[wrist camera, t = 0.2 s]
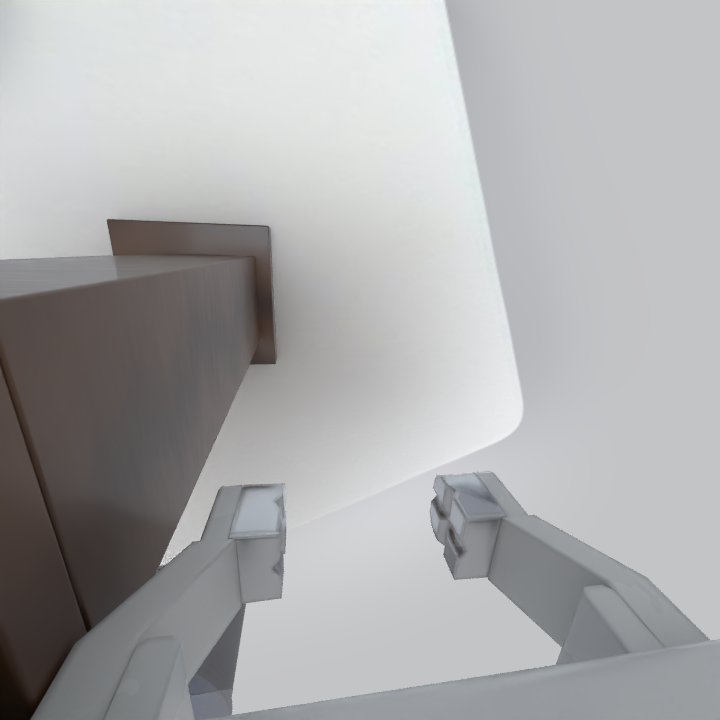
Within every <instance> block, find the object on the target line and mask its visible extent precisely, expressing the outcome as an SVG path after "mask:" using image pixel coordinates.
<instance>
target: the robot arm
mask: <svg viewBox="0 0 720 720" xmlns="http://www.w3.org/2000/svg"><path fill="white" fill-rule="evenodd" d="M433 488H434V490H435V492H436V494H437V496H436V497H435V498H434V499H433V500H432V501H431V508H430V517H431V525H432V528H433V532H434V534H435V537H436V539H437V540H438V541H439V542H440V543H442V544H443V545H444V546H445V548H444V554H443V555H444V558H445V560H446V562H447V564H448V567H449V569H450V571H451V573H452V576H453V578H454V579H455V580H458V579H471V578H484V577H488V580H489V581H490V582H491V583H493V584H494V585H495V586H496V587H497V588H498V589H499V590H500V591H501V592H502V593H503V594H505V595H506V596H507V597H508V598H509V599H510V600H511V601H512V602H513V603H514V604H515V605H516V606H518V607H519V608H520V609H521V610H522V611H523V612H524V613H525V614H526V615H527V616H528V617H529V618H531V619H532V620H533V621H534V622H535V623H536V624H537V625H538V626H540V628H541V629H542V630H544V631H545V632H546V633H547V634H548V635H549V636H550V637H551V638H552V639H553V640H554V641H556V642H557V643H558V644H559V645H560V646H561V647H562V649H561V652H560V655H559V657H558V660H557V663H556V665H552V666H545V667H539V668H533V669H526V670H520V671H513V672H507V673H500V674H494V675H488V676H481V677H474V678H468V679H461V680H455V681H448V682H442V683H436V684H430V685H423V686H416V687H410V688H403V689H397V690H391V691H384V692H377V693H372V694H364V695H358V696H352V697H345V698H339V699H332V700H326V701H319V702H313V703H307V704H300V705H294V706H287V707H281V708H274V709H268V710H262V711H255V712H249V713H242V714H236V715H229V716H223V717H216V718H210V719H203V720H720V639H718V640H712V641H710V639H708V637H706V635H705V634H704V633H702V632H701V630H700V629H699V628H698V627H696V625H694V624H693V623H692V622H691V621H690V620H689V619H688V618H687V617H686V616H685V615H684V614H683V613H682V612H681V611H680V610H679V609H678V608H677V607H676V606H675V605H674V604H673V603H672V602H671V601H670V600H669V599H668V598H667V597H666V596H665V595H664V594H663V593H662V592H661V591H660V590H659V589H658V588H657V587H656V586H655V585H654V584H653V583H652V582H651V581H650V580H649V579H648V578H647V577H645V576H643V575H641V574H640V573H638V572H636V571H634V570H632V569H631V568H629V567H627V566H625V565H623V564H622V563H620V562H618V561H616V560H614V559H612V558H611V557H609V556H607V555H605V554H603V553H602V552H600V551H598V550H596V549H594V548H593V547H591V546H589V545H587V544H585V543H584V542H582V541H580V540H578V539H577V538H575V537H573V536H571V535H569V534H567V533H566V532H564V531H562V530H560V529H558V528H557V527H555V526H553V525H551V524H549V523H548V522H546V521H544V520H542V519H540V518H539V517H537V516H535V515H528V514H527V513H526V512H525V510H524V509H523V508H522V507H521V505H520V504H519V503H518V502H517V501H516V499H515V498H514V497H513V496H512V495H511V493H510V492H509V491H508V490H507V488H506V487H505V486H504V485H503V483H502V482H501V481H500V480H499V479H498V477H497V476H496V475H495V474H494V473H493V472H491V471H485V472H473V473H465V474H449V475H437V476H436V478H435V480H434V486H433ZM285 500H286V492H285V484H256V485H244V486H243V485H235V486H222V487H221V488H220V489H219V490H218V493H217V496H216V499H215V501H214V504H213V507H212V510H211V512H210V515H209V518H208V521H207V523H206V526H205V529H204V532H203V534H202V537H201V540H200V541H197V542H192V543H191V544H190V545H189V546H188V547H186V548H185V549H184V550H183V551H182V552H181V553H179V554H178V555H177V556H176V557H175V558H174V559H172V560H171V561H170V562H169V563H168V564H167V565H165V566H164V567H163V568H162V569H161V570H160V571H159V572H157V573H156V574H155V575H154V576H153V577H152V578H150V579H149V580H148V581H147V582H146V583H145V584H143V585H142V586H141V587H140V588H139V589H138V590H137V591H135V592H134V593H133V594H132V595H131V596H130V597H128V598H127V599H126V600H125V601H124V602H123V603H121V604H120V605H119V606H118V607H117V608H116V609H115V610H113V611H112V612H111V613H110V614H109V615H108V616H106V617H105V618H104V619H103V620H102V621H101V622H99V623H98V624H97V625H96V626H95V627H94V628H93V629H91V630H90V631H89V632H88V633H87V634H86V635H84V636H83V637H82V638H81V639H80V640H79V641H77V642H76V643H75V644H74V646H73V648H72V649H71V651H70V653H69V655H68V656H67V658H66V660H65V661H64V663H63V665H62V666H61V668H60V670H59V672H58V673H57V675H56V677H55V678H54V680H53V682H52V684H51V685H50V687H49V689H48V690H47V692H46V694H45V696H44V697H43V699H42V701H41V702H40V704H39V706H38V708H37V709H36V711H35V713H34V714H33V716H32V718H31V719H30V720H194V714H193V709H192V703H191V698H190V692H189V687H188V684H189V682H190V681H191V679H192V678H193V676H194V675H195V673H196V672H197V670H198V669H199V668H200V666H201V665H202V663H203V662H204V660H205V659H206V657H207V656H208V654H209V653H210V651H211V650H212V649H213V647H214V646H215V644H216V643H217V641H218V640H219V638H220V637H221V635H222V634H223V633H224V631H225V630H226V628H227V627H228V625H229V624H230V622H231V621H232V619H233V618H234V617H235V615H236V614H237V612H238V611H239V609H240V608H241V604H243V603H250V602H257V601H264V600H271V599H279V598H282V586H283V574H284V558H283V555H284V554H285V546H286V511H285Z"/></svg>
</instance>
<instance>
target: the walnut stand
mask: <svg viewBox="0 0 720 720" xmlns="http://www.w3.org/2000/svg"><path fill="white" fill-rule="evenodd" d="M107 224H108V229H109V234H110V240H111V245H112V250H113V256H87V257H61V258H35V259H9V260H0V720H30V719H31V718H32V716H33V714H34V713H35V711H36V709H37V708H38V706H39V704H40V702H41V701H42V699H43V697H44V696H45V694H46V692H47V690H48V689H49V687H50V685H51V684H52V682H53V680H54V678H55V677H56V675H57V673H58V672H59V670H60V668H61V666H62V665H63V663H64V661H65V660H66V658H67V656H68V655H69V653H70V651H71V649H72V648H73V646H74V644H75V643H76V642H77V641H79V640H80V639H81V638H82V637H83V636H84V635H86V634H87V633H88V632H89V631H90V630H91V629H93V628H94V627H95V626H96V625H97V624H98V623H99V622H101V621H102V620H103V619H104V618H105V617H106V616H108V615H109V614H110V613H111V612H112V611H113V610H115V609H116V608H117V607H118V606H119V605H120V604H121V603H123V602H124V601H125V600H126V599H127V598H128V597H130V596H131V595H132V594H133V593H134V592H135V591H137V590H138V589H139V588H140V587H141V586H142V585H143V584H145V583H146V582H147V581H148V580H149V579H150V578H152V577H153V576H154V575H155V574H156V571H157V569H158V567H159V565H160V563H161V560H162V558H163V556H164V554H165V551H166V549H167V547H168V545H169V542H170V540H171V538H172V536H173V534H174V531H175V529H176V527H177V525H178V522H179V520H180V518H181V516H182V513H183V511H184V509H185V507H186V505H187V502H188V500H189V498H190V496H191V493H192V491H193V489H194V487H195V484H196V482H197V480H198V478H199V476H200V473H201V471H202V469H203V467H204V464H205V462H206V460H207V458H208V455H209V453H210V451H211V449H212V447H213V444H214V442H215V440H216V438H217V435H218V433H219V431H220V429H221V426H222V424H223V422H224V420H225V418H226V415H227V413H228V411H229V409H230V406H231V404H232V402H233V400H234V397H235V395H236V393H237V391H238V389H239V386H240V384H241V382H242V380H243V377H244V375H245V373H246V371H247V369H248V366H249V365H253V364H276V360H277V353H276V333H275V314H274V294H273V274H272V254H271V235H270V227H269V226H260V225H236V224H212V223H187V222H163V221H139V220H114V219H108V220H107Z"/></svg>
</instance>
